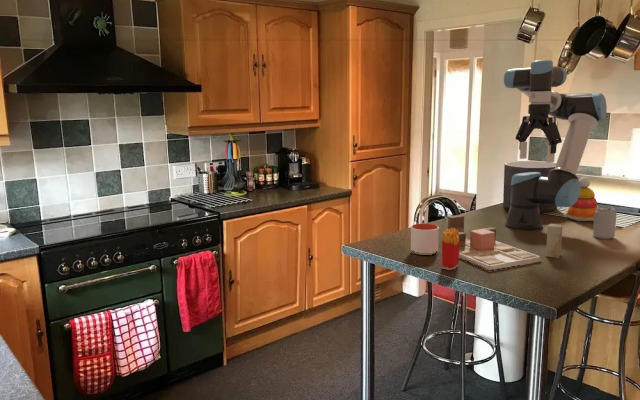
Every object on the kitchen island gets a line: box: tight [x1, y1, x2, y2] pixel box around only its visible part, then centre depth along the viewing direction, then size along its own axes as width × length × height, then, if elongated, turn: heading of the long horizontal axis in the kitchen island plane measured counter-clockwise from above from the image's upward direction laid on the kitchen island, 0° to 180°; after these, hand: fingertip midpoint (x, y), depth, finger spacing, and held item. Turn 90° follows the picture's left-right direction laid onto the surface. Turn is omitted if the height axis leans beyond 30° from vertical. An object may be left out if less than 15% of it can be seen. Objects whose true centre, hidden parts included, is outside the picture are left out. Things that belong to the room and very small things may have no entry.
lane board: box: [459, 240, 542, 270], centre depth 184 cm, size 24×22×2 cm
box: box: [545, 223, 563, 259], centre depth 182 cm, size 5×4×11 cm
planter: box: [502, 160, 558, 214], centre depth 256 cm, size 25×25×22 cm
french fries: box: [441, 228, 460, 268], centre depth 173 cm, size 9×4×13 cm, turn 143°
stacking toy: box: [565, 176, 598, 222], centre depth 231 cm, size 14×14×20 cm
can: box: [592, 206, 618, 240], centre depth 203 cm, size 8×8×12 cm
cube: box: [469, 228, 495, 251], centre depth 188 cm, size 6×6×6 cm
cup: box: [410, 223, 440, 253], centre depth 190 cm, size 10×10×10 cm
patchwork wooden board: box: [459, 227, 536, 265], centre depth 184 cm, size 22×20×6 cm
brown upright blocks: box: [447, 214, 499, 255], centre depth 192 cm, size 22×6×10 cm, turn 23°
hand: (536, 160), depth 195 cm, fingers open, 13 cm apart
